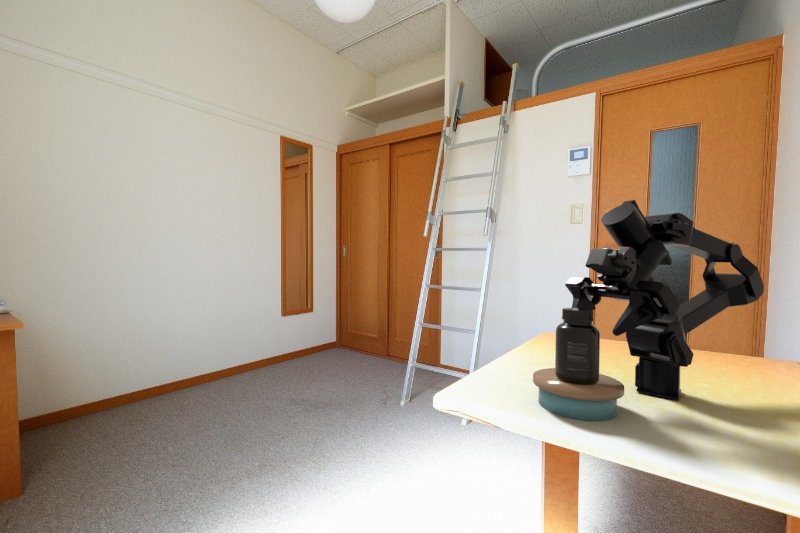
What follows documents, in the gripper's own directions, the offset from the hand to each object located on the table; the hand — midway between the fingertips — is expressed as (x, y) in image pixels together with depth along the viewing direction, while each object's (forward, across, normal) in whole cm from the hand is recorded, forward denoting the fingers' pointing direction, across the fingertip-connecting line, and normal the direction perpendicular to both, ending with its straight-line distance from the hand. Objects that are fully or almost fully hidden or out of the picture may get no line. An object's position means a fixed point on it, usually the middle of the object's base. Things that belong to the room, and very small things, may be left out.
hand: (590, 329), depth 65 cm
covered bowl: (+11, 0, +7) cm, 13 cm away
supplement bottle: (+8, 0, +4) cm, 9 cm away
